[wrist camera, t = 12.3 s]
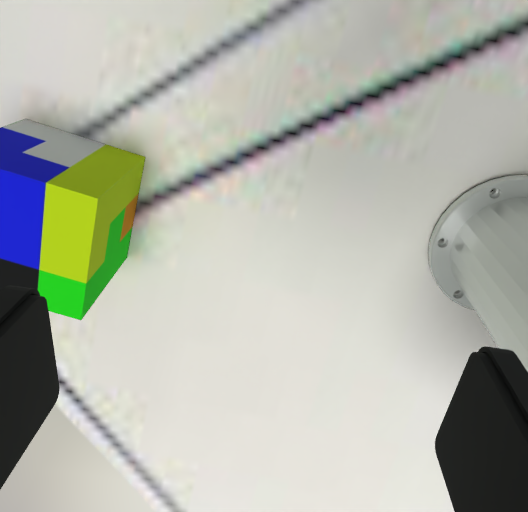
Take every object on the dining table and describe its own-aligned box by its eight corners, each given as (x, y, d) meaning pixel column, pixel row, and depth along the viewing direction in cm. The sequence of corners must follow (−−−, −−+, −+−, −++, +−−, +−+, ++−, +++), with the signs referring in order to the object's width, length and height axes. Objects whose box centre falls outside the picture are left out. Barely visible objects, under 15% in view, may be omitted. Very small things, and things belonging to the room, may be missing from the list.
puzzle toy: (26, 118, 36) (-62, 149, 28) (145, 156, 37) (97, 198, 28) (20, 225, 41) (-56, 281, 32) (126, 257, 42) (81, 320, 33)
